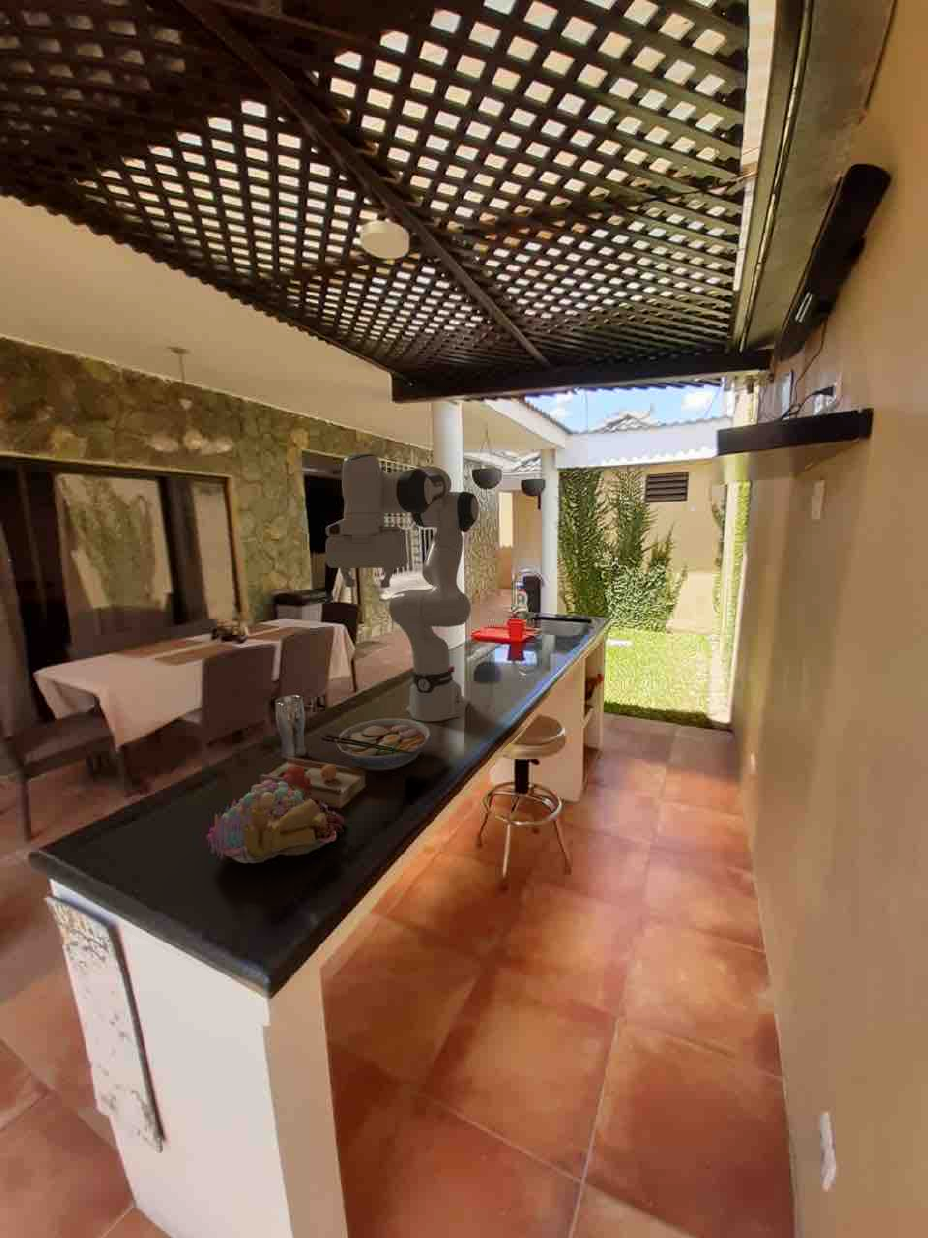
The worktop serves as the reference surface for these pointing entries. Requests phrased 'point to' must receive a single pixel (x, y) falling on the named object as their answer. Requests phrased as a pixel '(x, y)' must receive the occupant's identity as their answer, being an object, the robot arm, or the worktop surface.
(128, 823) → the worktop surface
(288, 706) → the beer glass
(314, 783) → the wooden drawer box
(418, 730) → the ramen bowl
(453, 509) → the robot arm
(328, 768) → the ball
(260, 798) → the pastel sphere sculpture
